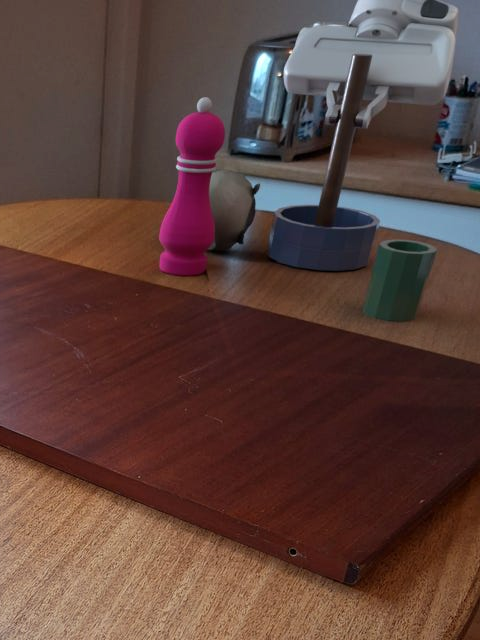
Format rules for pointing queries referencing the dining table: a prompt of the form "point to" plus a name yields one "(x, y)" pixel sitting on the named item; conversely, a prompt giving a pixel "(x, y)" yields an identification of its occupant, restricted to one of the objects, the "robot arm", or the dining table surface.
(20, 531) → the dining table surface
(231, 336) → the dining table surface
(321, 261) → the bowl
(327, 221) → the stick
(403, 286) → the holder
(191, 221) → the pepper mill
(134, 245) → the dining table surface
